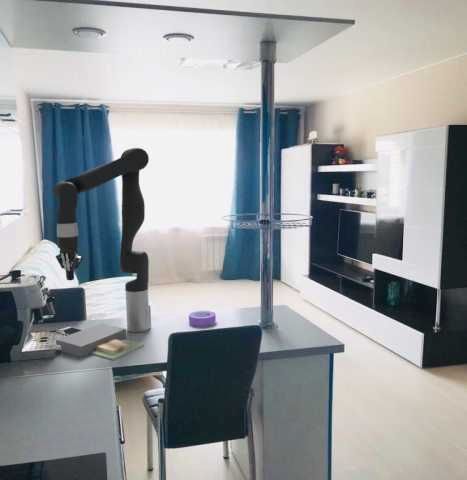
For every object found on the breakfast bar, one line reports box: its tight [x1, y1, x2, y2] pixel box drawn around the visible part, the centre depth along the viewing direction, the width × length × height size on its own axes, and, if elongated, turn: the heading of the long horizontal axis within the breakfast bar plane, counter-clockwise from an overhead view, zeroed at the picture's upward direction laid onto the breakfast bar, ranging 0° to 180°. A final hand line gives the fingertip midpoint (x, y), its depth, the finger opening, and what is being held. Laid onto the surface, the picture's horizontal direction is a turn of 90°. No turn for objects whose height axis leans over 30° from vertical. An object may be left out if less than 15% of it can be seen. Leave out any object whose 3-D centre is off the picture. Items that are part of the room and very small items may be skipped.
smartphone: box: [59, 326, 83, 336], centre depth 193 cm, size 7×15×1 cm, turn 56°
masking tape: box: [188, 310, 217, 328], centre depth 205 cm, size 12×12×4 cm
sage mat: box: [91, 338, 146, 361], centre depth 174 cm, size 16×11×1 cm
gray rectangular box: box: [55, 322, 127, 358], centre depth 180 cm, size 22×14×4 cm, turn 148°
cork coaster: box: [96, 339, 131, 355], centre depth 174 cm, size 9×9×2 cm
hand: (70, 279), depth 179 cm, fingers closed
